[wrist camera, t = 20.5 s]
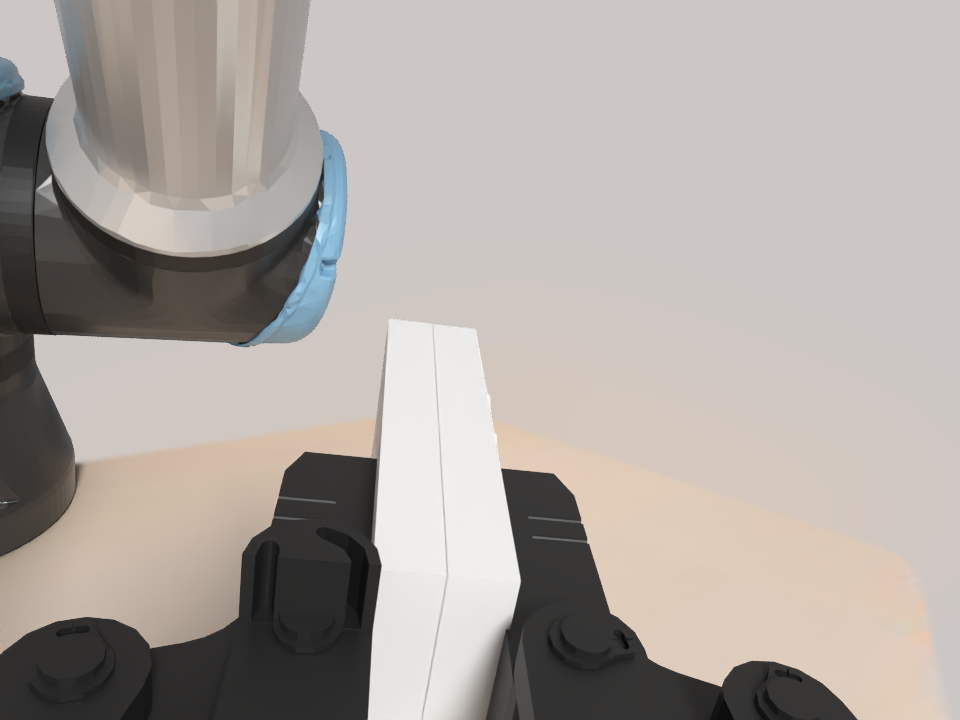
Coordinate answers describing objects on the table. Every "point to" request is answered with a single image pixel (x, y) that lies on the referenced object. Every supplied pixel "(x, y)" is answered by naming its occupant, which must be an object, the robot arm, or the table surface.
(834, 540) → the table surface
